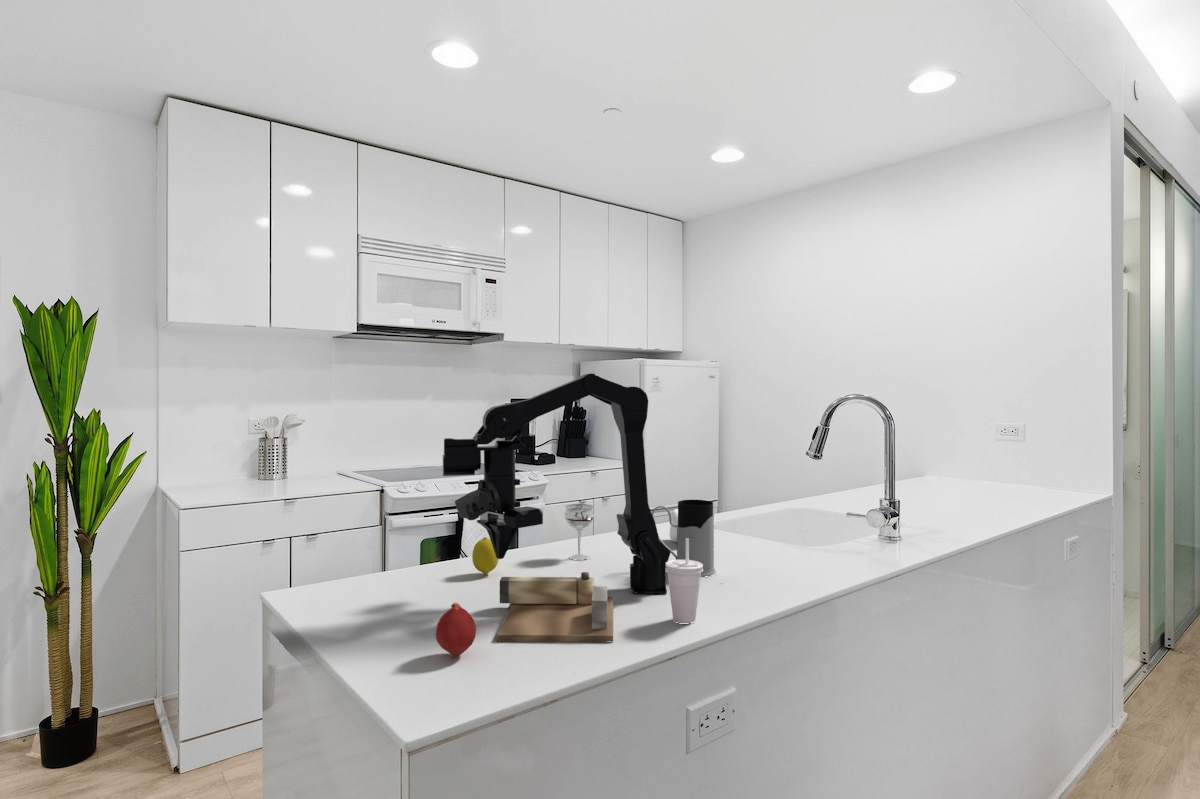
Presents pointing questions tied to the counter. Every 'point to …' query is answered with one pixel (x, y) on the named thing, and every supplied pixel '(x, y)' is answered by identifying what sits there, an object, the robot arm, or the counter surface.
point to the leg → (546, 590)
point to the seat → (561, 620)
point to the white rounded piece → (675, 522)
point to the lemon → (484, 556)
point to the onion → (456, 630)
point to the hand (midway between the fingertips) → (500, 558)
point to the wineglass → (579, 521)
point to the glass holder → (695, 533)
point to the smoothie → (684, 587)
